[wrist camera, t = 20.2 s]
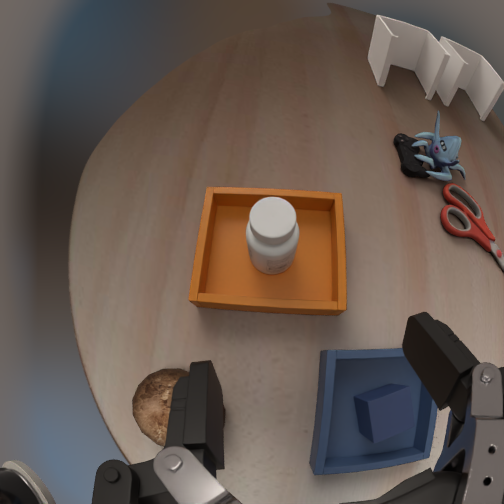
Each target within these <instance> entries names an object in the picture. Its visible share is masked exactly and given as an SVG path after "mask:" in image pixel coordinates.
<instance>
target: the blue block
mask: <svg viewBox="0 0 504 504" xmlns="http://www.w3.org/2000/svg"><path fill="white" fill-rule="evenodd" d="M354 401H355V407H356V413H357V419H358V426H359V432H360V433H361V434H362V435H363V436H365V437H366V438H367V439H368V440H370V441H371V442H372V443H377V442H379V441H382V440H385V439H387V438H390V437H392V436H394V435H397V434H399V433H401V432H404V431H406V430H408V429H410V428H413V427H415V423H414V414H413V406H412V398H411V391H410V386H406V385H399V384H393V383H390V384H387V385H385V386H382V387H379V388H376V389H374V390H371V391H368V392H365V393H362V394H359V395H356V396H354Z"/></svg>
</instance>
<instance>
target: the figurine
mask: <svg viewBox="0 0 504 504" xmlns="http://www.w3.org/2000/svg"><path fill="white" fill-rule="evenodd" d="M439 122H440V114H439V111H438V113H437V119H436V123H435V134H434V133H430V132H422V133H419V134H417V135H415V137H418V138H424V139H430V140H432V144H431V145H429V146H428V143H427V142H426V141H423V140H420V141H418V140H416V139H414V138H411V137H408V136H407V135H405V134H401V133H400V134H397V135H396V136H395V138H394V145H395V146H396V148H397V150H398V153H399V157H400V160H401V163H402V164H401V169H402V171H403V172H404V174H406V175H407V176H409V177H415V176H419V177H424V178H427V177H429V176H430V175H431V176H433V177H435V178H436V179H439V180H443V181H450V180H452V175H451V174H450V171H449V169H451V170H458V171H460V173H461V175H462V176H463V178H464V179H465V170H464V168H463V167H462V166H460V165H459V164H458V163H459V160H455V159H456V158H458V151H459V149H460V146H461V138H460V137H457V136H446V137H441V138H440V137H439ZM419 146H424V149H425V153H426V156H423V155H419V154H418V152H419V150H420V148H419ZM433 160H434V161H433ZM423 162H427V163H428V164H429V165H430V169H431V170H432V169H435V168H438V167H439V168H440V169H441V171H442V173H439V172H432V171H427V170H426V169H425V168H423V167H422V164H423Z"/></svg>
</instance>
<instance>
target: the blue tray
mask: <svg viewBox="0 0 504 504" xmlns="http://www.w3.org/2000/svg"><path fill="white" fill-rule="evenodd" d="M390 383H393V384H399V385H406V386H410V391H411V398H412V406H413V414H414V423H415V427H413V428H410V429H408V430H406V431H404V432H401V433H399V434H397V435H394V436H392V437H390V438H387V439H385V440H382V441H379V442H377V443H372V442H371V441H370V440H368V439H367V438H366V437H365V436H363V435H362V434H361V433H360V432H359V426H358V419H357V413H356V407H355V401H354V396H356V395H359V394H362V393H365V392H368V391H371V390H374V389H376V388H379V387H382V386H385V385H387V384H390ZM437 408H438V407H437V405H436V404H435V402H434V400H433V399H432V397H431V396H430V394H429V392H428V391H427V389H426V388H425V386H424V385H423V383H422V381H421V380H420V378H419V377H418V375H417V374H416V372H415V371H414V369H413V368H412V366H411V365H410V363H409V362H408V360H407V359H406V357H405V355H404V353H403V348H395V349H371V350H323V351H321V353H320V369H319V382H318V394H317V405H316V415H315V424H314V432H313V440H312V448H311V455H310V462H309V463H310V466H311V469H312V471H313V474H314V475H326V474H340V473H350V472H359V471H367V470H373V469H380V468H386V467H391V466H396V465H401V464H406V463H410V462H414V461H418V460H422V459H426V458H429V456H430V451H431V446H432V441H433V435H434V430H435V423H436V416H437Z"/></svg>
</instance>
